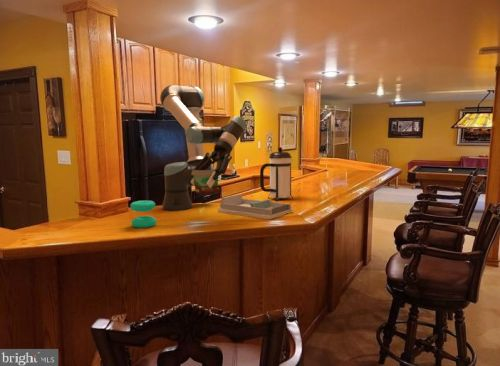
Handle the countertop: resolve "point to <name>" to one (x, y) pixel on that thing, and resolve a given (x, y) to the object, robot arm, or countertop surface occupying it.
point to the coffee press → (278, 175)
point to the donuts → (143, 220)
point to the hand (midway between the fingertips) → (200, 184)
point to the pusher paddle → (261, 204)
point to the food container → (204, 181)
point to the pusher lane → (252, 208)
